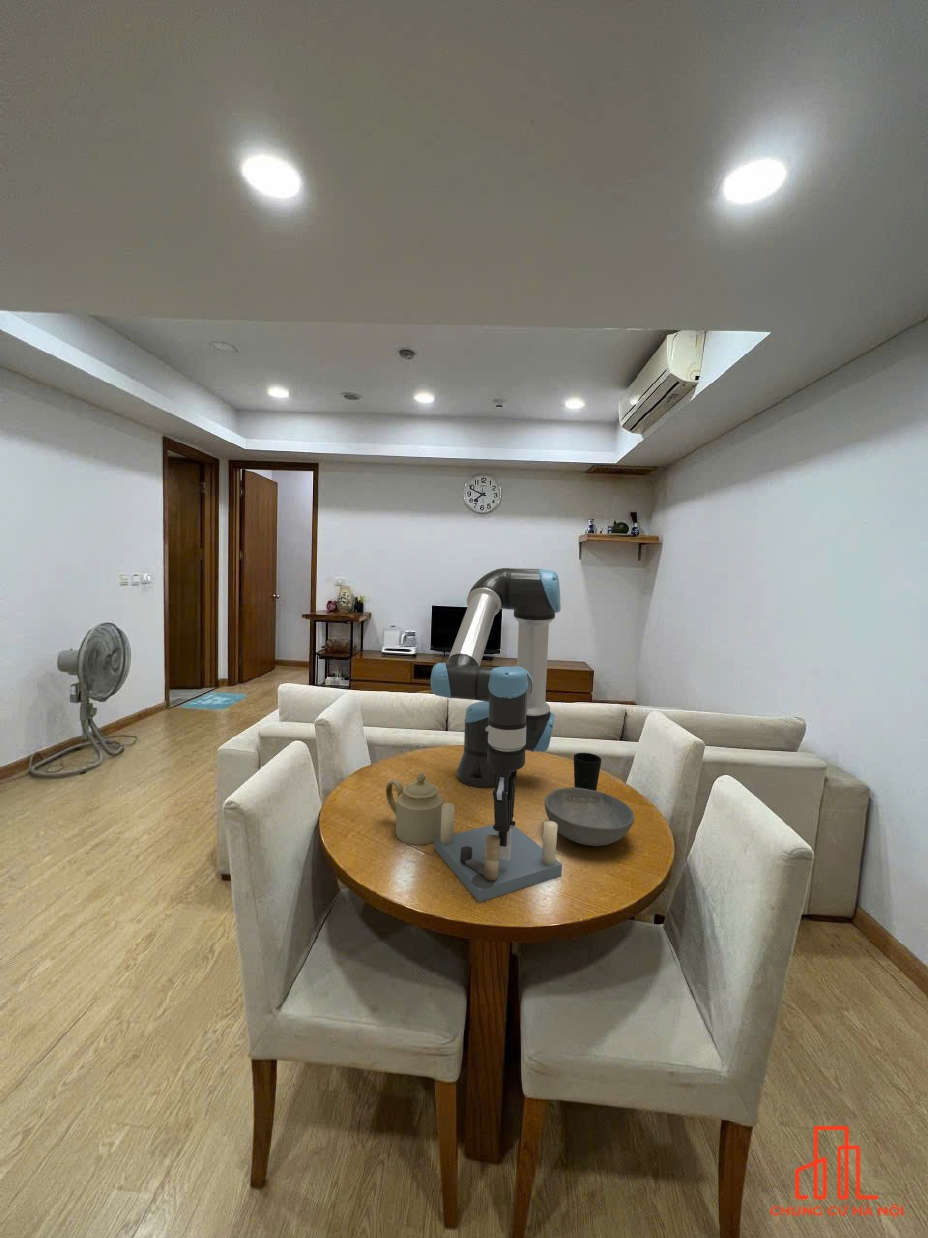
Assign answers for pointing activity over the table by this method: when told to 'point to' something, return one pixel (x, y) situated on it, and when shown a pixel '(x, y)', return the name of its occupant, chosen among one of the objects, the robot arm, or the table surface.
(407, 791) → the teapot
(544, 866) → the stool seat
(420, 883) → the table surface
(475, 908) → the table surface
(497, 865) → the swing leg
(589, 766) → the cup
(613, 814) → the bowl
